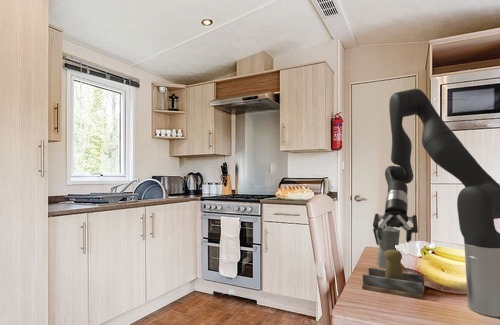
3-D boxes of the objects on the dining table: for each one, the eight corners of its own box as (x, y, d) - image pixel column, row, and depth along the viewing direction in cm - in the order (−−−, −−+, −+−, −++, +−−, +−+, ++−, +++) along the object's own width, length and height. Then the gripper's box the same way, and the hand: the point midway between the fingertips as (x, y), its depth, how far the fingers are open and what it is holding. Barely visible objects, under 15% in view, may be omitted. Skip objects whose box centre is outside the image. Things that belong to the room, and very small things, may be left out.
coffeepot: (410, 270, 117) (408, 223, 118) (390, 271, 115) (388, 224, 116) (384, 260, 132) (382, 219, 133) (365, 261, 130) (364, 220, 131)
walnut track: (424, 286, 98) (424, 274, 99) (422, 299, 87) (421, 285, 88) (370, 278, 108) (370, 266, 108) (362, 288, 97) (361, 276, 97)
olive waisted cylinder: (407, 288, 94) (405, 252, 95) (386, 286, 95) (385, 251, 96) (401, 281, 100) (400, 248, 101) (382, 280, 101) (381, 247, 102)
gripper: (374, 197, 115) (370, 231, 104) (417, 198, 107) (416, 234, 97) (378, 210, 119) (373, 244, 108) (418, 211, 111) (418, 248, 101)
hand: (393, 239), depth 103 cm, fingers open, 8 cm apart
